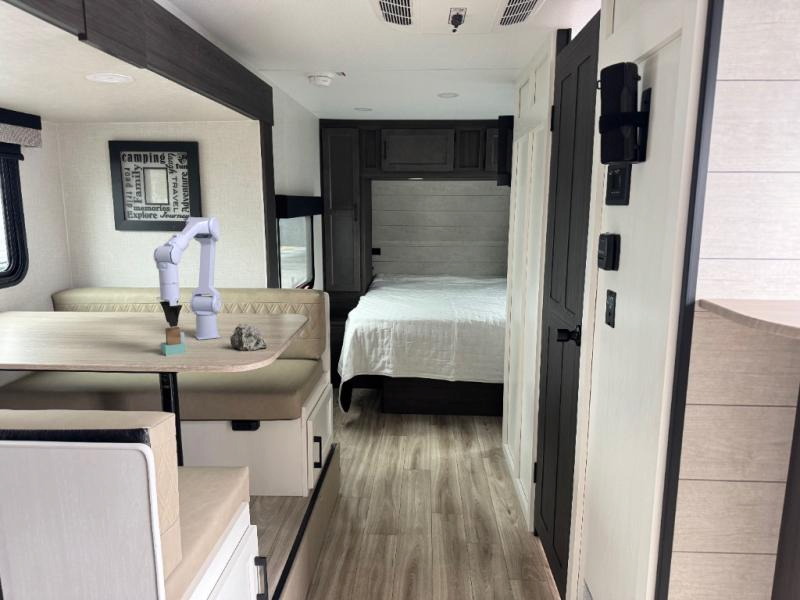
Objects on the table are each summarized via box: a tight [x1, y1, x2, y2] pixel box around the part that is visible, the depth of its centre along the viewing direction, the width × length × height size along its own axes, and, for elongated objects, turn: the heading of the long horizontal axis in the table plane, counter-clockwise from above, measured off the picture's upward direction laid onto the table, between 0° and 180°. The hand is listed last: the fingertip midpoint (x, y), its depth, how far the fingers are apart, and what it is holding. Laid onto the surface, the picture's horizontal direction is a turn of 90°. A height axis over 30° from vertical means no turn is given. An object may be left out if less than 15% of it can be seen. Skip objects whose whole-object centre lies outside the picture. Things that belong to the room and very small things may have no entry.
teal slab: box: [160, 341, 186, 357], centre depth 174 cm, size 6×6×4 cm
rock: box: [229, 323, 268, 351], centre depth 181 cm, size 13×10×10 cm
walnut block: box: [164, 326, 181, 345], centre depth 174 cm, size 4×4×5 cm
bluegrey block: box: [180, 331, 186, 345], centre depth 182 cm, size 4×4×5 cm
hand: (172, 324), depth 173 cm, fingers open, 7 cm apart
